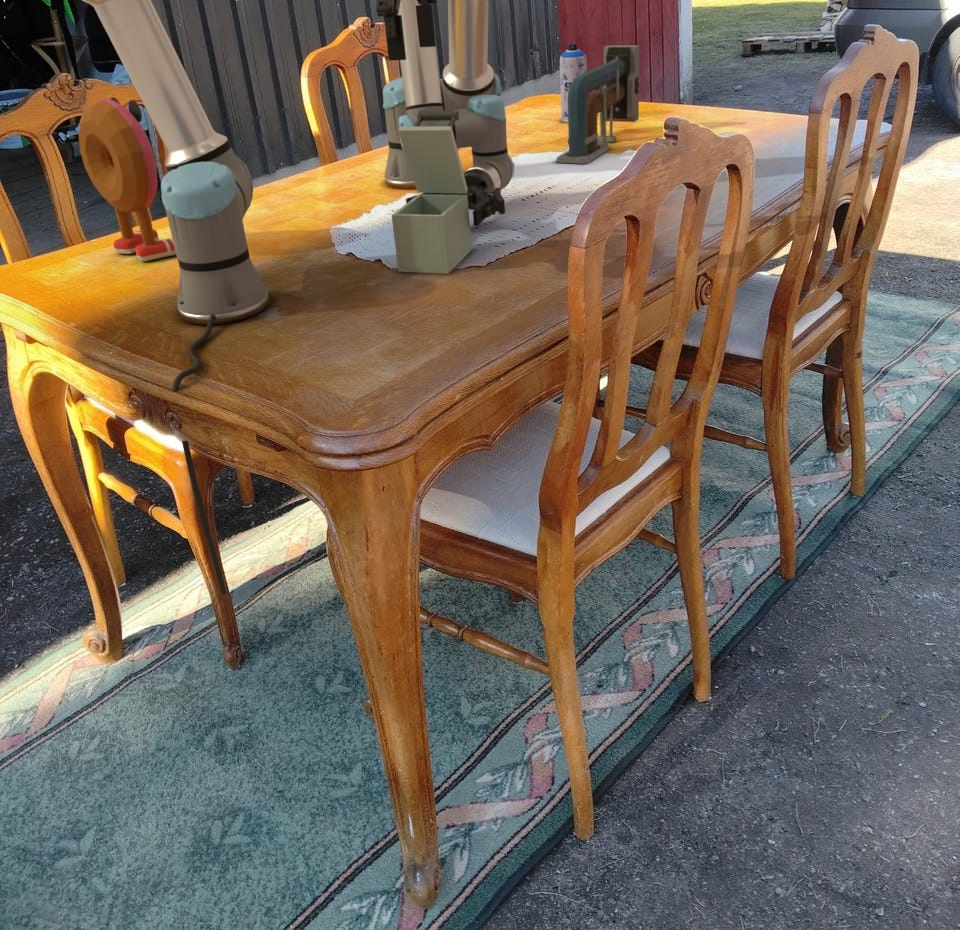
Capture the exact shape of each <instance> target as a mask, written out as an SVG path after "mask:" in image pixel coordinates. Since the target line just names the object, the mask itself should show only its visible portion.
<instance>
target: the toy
mask: <svg viewBox="0 0 960 930" xmlns="http://www.w3.org/2000/svg"><path fill="white" fill-rule="evenodd" d="M127 105H128V108H126V107H125V106H123V105H122V104H121V103H120V101H119V100H118V98H116V97H115V96H112V97H110V98H107V97H103V98H101V99H99V100H97V101H95V102H93V103H91V104H89V105H88V106H86V107H85V108H84V109H83V110H82V114H81V116H80V120H79V124H78V146H79V152H80V155H81V156H80V157H81V160H82V163H83V166H84V169H85V171H86V173H87V175H88V177H89V179H90V181H91V184H93V186H94V187H95V189H96V190H97V191H98V193H99V194H100V195H101V196H102V198H104V200H105V201H106V202H107V203H108V204H109V205H111V206H112V207H113V209H114V212H115V215H116V218H117V223H118V226H119V230H120V234H121V237H120V238H118V239H116V240H114V241H113V248H114V252H115V253H117V254H122V255H130V254H134V253H135V254H136V257H137V259H138V260H139V261H141V262H147V261H148V262H149V261H153V260H157V259H164V258H167V257H172V256H177V255H176V251H175V247H174V242H173V238H172V237H169V238H165V239H160V238H159V234H158V232H157V230H156V229H154V228H153V224H152V219H151V215H150V212H149V209H148V208H149V207H150V206H151V205H152V203H153V202H154V200H155V198H156V195H157V190H158V166H157V160H156V157H155V153H154V150H153V147H152V144H151V142H150V140H149V139H150V138H149V137H148V135H147V133H146V131H145V129H144V128H143V126H142V125H141V122H142V119H143V118H142V115H143V113H142V110H141V107H140V106H139V104H138V102H137V101H136V100H134V99H131V100H129V101H128V104H127ZM133 212H135V215H136V219H137V223H138V227H139V229H138V230H136V231H134V230H133V226H132V225H133V224H132V220H131V217H130V213H133Z"/></svg>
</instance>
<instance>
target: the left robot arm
mask: <svg viewBox="0 0 960 930" xmlns="http://www.w3.org/2000/svg"><path fill="white" fill-rule="evenodd" d="M81 1H82V2H84V3H87V4H89V5H91V7H93V8H94V11H95V13H96V14H97V16H98V19H99V20H100V22H101V24H102V27H103V28H104V30H105V32H106V34H107V35H108V37H109V39H110V42H111V43H112V46H113V47H114V50H115V51H116V53H117V55H118V57H119V59H120V61H121V63H122V65H123V67H124V69H125V71H126V73H127V75H128V76H129V79H130V81H131V83H132V85H133V86H134V88H135V90H136V92H137V94H138V96H139V98H140V100H141V102H142V103H143V104H142V105H143V106H144V108H145V110H146V112H147V114H148V116H149V117H150V119H151V121H152V124H153V125H154V127H155V129H156V131H157V133H158V136H159V137H160V139H161V141H162V143H163V145H164V146H165V149H166V151H167V153H166V158H165V159H164V167H165V169H166V170H167V173H166V174H165V175H164V176H163V177H162V179H161V182H160V191H161V201H162V205H163V207H164V209H165V214H166V217H167V221H168V226H169V230H170V234H171V238H173V242H174V247H175V251H176V255H175V256H176V258H177V262H178V266H179V283H178V294H177V310H178V314H179V318H180V319H182V320H183V321H184V322H186V323H189V324H193V325H202V326H203V325H204V326H205V325H206V328H205V331H204V332H203V334H202V335H201V336H200V337H199V338H198V339H196V340H195V341H194V342H193V343H192V344H190V346H189V347H188V349H187V355H188V358H189V359H190V360H191V361H192V363H193V366H192V367H190V368H187V369H184V370H183V371H181V372H180V373H179V374H177V376H175V378H174V380H173V384H172V389H171V391H172V393H177V392H178V391H180V385H181V383H182V381H183V379H185V378H186V377H189V376H190V375H194V374H196V373H197V372H198V371H199V370H200V367H201V361H200V360H199V358H198V357H197V355H196V354H195V350H196V349H197V348H198V347H199V346H201V345H202V344H203V343H204V342H205V341H206V340H207V339H209V337H210V335H211V333H212V330H213V327H214V325H222V324H230V323H233V322H239V321H241V320H245V319H248V318H251V317H253V316H256V315H258V314H260V312H263V311H264V310H265V309H266V308H267V307H268V306H269V305H270V296H269V291H268V289H267V287H266V284H265V283H264V282H263V280H262V278H261V276H260V274H259V272H258V270H257V269H256V267H255V265H254V264H253V262H252V260H251V257H250V251H249V246H248V241H247V236H246V232H245V227H244V220H243V219H244V217H245V215H246V214H247V212H248V210H249V208H250V207H251V203H252V201H253V195H254V187H253V179H252V176H251V173H250V171H249V169H248V167H247V166H246V164H245V163H244V161H242V160H241V159H240V158H239V157H238V156H236V153H235V152H234V149H233V147H232V145H231V143H230V141H229V139H228V138H227V136H225V135H223V134H220V133H218V132H216V131H215V130H214V128H213V126H212V124H211V122H210V119H209V118H208V116H207V114H206V112H205V110H204V108H203V105H202V103H201V102H200V100H199V97H198V95H197V93H196V91H195V89H194V87H193V85H192V82H191V81H190V78H189V77H188V75H187V72H186V70H185V68H184V66H183V64H182V62H181V60H180V58H179V56H178V54H177V51H176V50H175V47H174V46H173V43H172V41H171V39H170V37H169V35H168V33H167V31H166V29H165V27H164V25H163V23H162V21H161V18H160V17H159V14H158V12H157V11H156V8H155V6H154V4H153V2H152V0H81ZM400 1H401V0H376V5H375V6H376V7H375V9H376V10H375V11H376V15H377V17H383V20H384V29H385V39H386V47H387V55H388V61H400V60H406V53H405V44H404V34H403V25H402V15H398V13H399V7H400ZM417 2H418V4H421V5H417V6H416V15H417V25H418V35H419V46H420V47H435V46H436V47H437V44H436V32H435V23H434V12H433V4H434V5H435V4H437V3H438V0H417ZM181 444H182V448H183V454H184V458H185V463H186V467H187V472H188V475H189V479H190V483H191V487H192V493H193V496H194V500H195V503H196V507H197V510H198V514H199V517H200V522H201V525H202V528H203V532H204V536H205V539H206V543H207V546H208V550H209V554H210V558H211V561H212V564H213V565H212V566H213V568H214V572H215V576H216V579H217V583H218V587H219V590H220V594H221V595H226V594H227V589H226V588H227V587H226V585H225V580H224V577H223V574H222V569H221V566H220V561H219V558H218V554H217V550H216V546H215V543H214V539H213V536H212V533H211V529H210V526H209V525H210V524H209V522H208V517H207V514H206V511H205V507H204V503H203V499H202V495H201V491H200V487H199V484H198V483H199V482H198V479H197V475H196V471H195V466H194V462H193V457H192V454H191V448H190V442H189V440H181Z"/></svg>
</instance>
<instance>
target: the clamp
mask: <svg viewBox="0 0 960 930" xmlns="http://www.w3.org/2000/svg"><path fill="white" fill-rule="evenodd" d="M593 91H598V92H594V93H593V94H591V95H589V94H590V93H592V92H593ZM639 91H640V45H637V44H635V45H633V44H632V45H630V44H629V45H621V44H620V45H606V46H604V47H603V64H601V65H599V66H597V67H595V68H592V69H590V70H587V72H586V73H584V74H581V75H579V76H578V77H577V78H576V79H575V80H574V81H573V82H572V84H571V85H570V88H569V91H568V122H567V125H568V128H567V129H568V139H567V144H568V150H566V151H565V152H563V153H562V154H560V155H558V156H557V157H556V159H555V162H557V163H562V164H563V163H564V164H588V163H590V162H592V161H593V160H595V159H596V158H599V157H600V156H601V155H603V154H604V153H606V152H608V151H610V150H611V147H610V146H609V143H613V142H616V141H617V137H616V136H615V135H613V131H614V130H613V127H614V126H613V125H614V124H613V122H617V123H619V122H622V123H635V122H637V121H638V120H640V119H639V118H640V116H639V113H640V109H639V107H640V104H639V103H640V102H639V101H640V92H639ZM598 114H599V121H600V122H599V125H600V126H599V128H600V129H599V130H600V131H599V132H600V135H599V133H598ZM607 122H609V135H607Z"/></svg>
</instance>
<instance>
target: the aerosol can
mask: <svg viewBox="0 0 960 930" xmlns="http://www.w3.org/2000/svg"><path fill="white" fill-rule="evenodd" d="M586 72H588V63H587V55H586V54H585V52H584V51H583V50H581V49H579V48H578V44H577V43H574V44H568V48H567V49H566V50H565V51H563V52H562V53H561V55H560V56H559V79H560V81H559V83H560V84H559V85H560V113H561V115H560V116H561V117H560V121H561V122H563V123H568V91H569V88H570V85H571V84H572V82H573V81H574V80H575V79H576V78H577V77H578V76H579V75H581V74H584V73H586Z"/></svg>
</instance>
